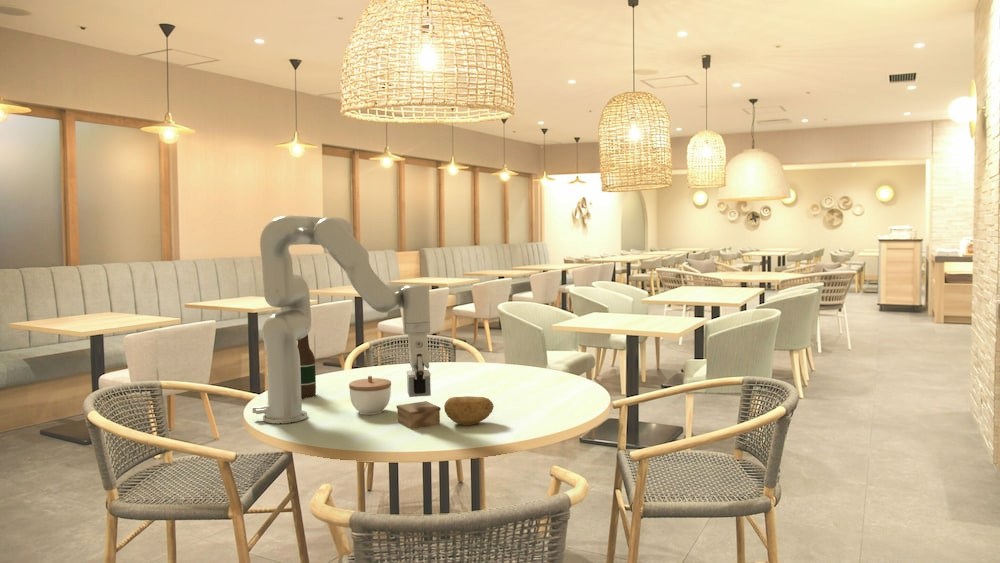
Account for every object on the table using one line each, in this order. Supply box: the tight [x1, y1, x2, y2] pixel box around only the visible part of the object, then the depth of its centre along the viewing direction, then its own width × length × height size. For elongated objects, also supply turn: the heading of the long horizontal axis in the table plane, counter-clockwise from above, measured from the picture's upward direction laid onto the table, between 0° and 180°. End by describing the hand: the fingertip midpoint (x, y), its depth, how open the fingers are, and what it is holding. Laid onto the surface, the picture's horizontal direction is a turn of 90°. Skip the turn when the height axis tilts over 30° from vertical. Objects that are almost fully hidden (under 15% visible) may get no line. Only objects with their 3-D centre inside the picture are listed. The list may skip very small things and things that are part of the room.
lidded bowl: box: [348, 375, 392, 416], centre depth 224 cm, size 13×13×11 cm
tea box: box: [395, 400, 442, 430], centre depth 210 cm, size 9×9×5 cm
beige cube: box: [406, 369, 432, 398], centre depth 209 cm, size 6×6×6 cm
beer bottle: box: [297, 333, 317, 399], centre depth 245 cm, size 8×8×24 cm
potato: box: [443, 396, 494, 426], centre depth 209 cm, size 10×14×8 cm
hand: (418, 390), depth 209 cm, fingers closed on beige cube, 6 cm apart
